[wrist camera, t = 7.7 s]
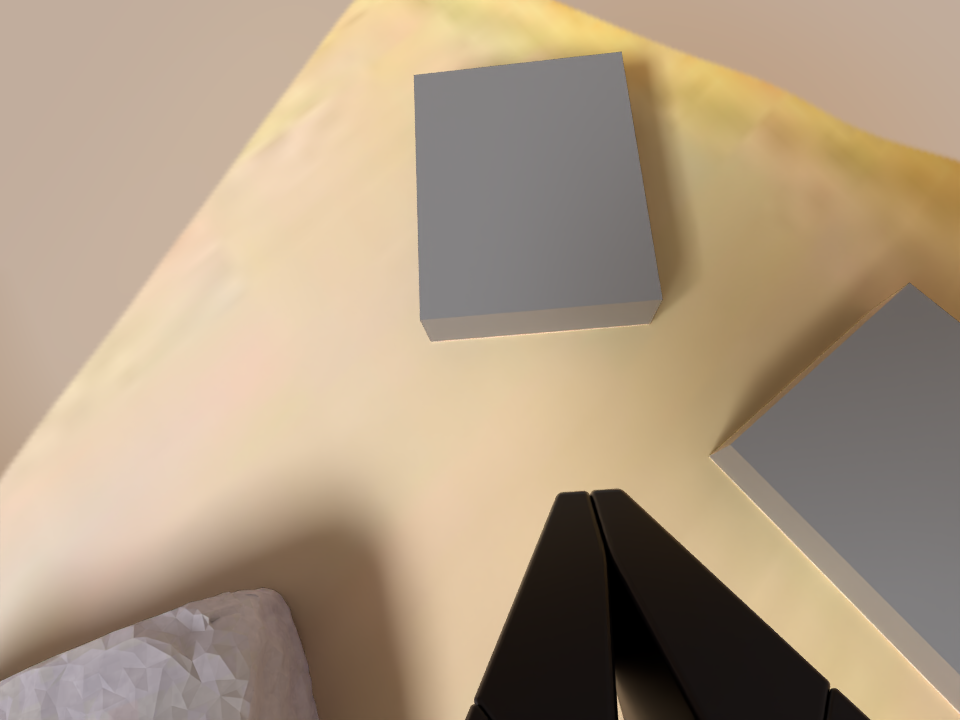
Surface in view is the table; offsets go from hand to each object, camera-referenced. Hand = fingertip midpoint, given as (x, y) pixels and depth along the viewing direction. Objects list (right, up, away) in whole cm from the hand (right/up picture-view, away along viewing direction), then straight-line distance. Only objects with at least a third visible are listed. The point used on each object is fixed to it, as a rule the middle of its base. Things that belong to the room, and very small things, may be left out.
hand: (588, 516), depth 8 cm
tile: (0, +3, +10) cm, 11 cm away
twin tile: (+11, -2, +9) cm, 14 cm away
